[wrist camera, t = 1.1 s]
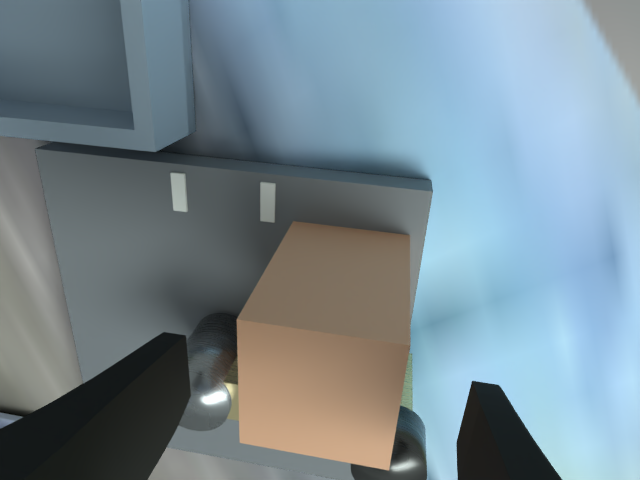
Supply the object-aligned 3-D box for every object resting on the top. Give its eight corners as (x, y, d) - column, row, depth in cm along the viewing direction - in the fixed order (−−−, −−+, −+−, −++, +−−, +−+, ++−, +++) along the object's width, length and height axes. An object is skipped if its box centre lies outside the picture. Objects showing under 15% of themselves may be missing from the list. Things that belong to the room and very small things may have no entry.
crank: (197, 361, 20) (138, 454, 15) (193, 308, 18) (130, 393, 14) (417, 397, 18) (420, 508, 14) (427, 343, 17) (433, 447, 13)
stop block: (290, 317, 18) (239, 442, 13) (293, 221, 16) (236, 319, 11) (395, 332, 18) (389, 470, 12) (409, 234, 16) (410, 345, 10)
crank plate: (107, 415, 24) (92, 434, 23) (57, 141, 18) (32, 149, 17) (384, 465, 22) (383, 490, 21) (431, 180, 16) (433, 192, 15)
